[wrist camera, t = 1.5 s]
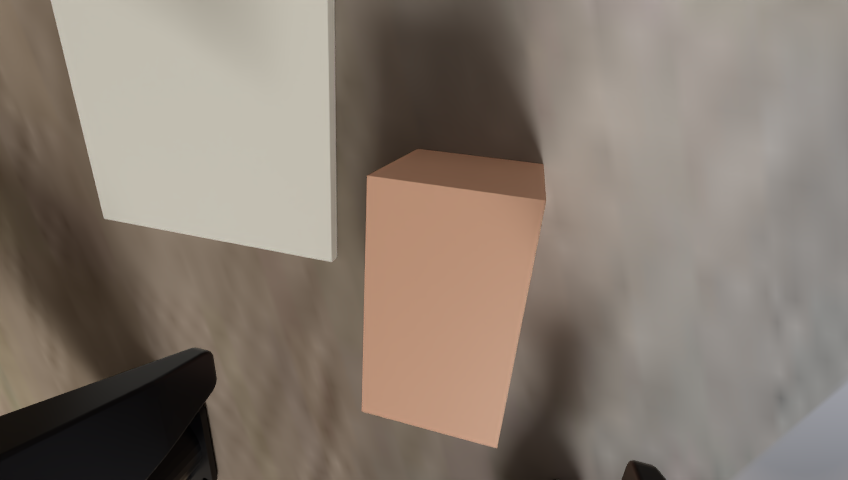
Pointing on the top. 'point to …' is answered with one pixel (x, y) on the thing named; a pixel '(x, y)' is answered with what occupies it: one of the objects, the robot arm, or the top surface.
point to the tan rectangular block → (447, 288)
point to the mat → (210, 116)
